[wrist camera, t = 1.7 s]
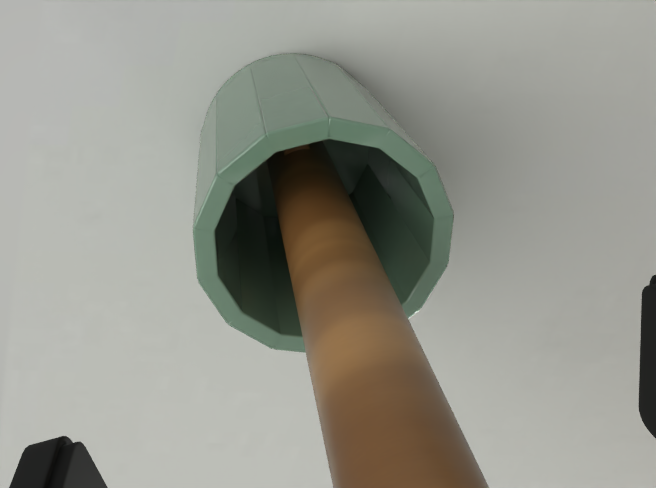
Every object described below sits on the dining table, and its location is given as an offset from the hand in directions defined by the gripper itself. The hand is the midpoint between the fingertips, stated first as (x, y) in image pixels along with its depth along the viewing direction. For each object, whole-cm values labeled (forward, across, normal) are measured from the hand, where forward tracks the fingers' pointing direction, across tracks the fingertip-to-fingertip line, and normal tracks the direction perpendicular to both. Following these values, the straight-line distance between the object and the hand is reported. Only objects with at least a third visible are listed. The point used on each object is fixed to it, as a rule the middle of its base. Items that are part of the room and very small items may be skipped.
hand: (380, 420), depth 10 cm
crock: (+14, 0, -1) cm, 14 cm away
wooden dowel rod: (+13, 0, -1) cm, 13 cm away
